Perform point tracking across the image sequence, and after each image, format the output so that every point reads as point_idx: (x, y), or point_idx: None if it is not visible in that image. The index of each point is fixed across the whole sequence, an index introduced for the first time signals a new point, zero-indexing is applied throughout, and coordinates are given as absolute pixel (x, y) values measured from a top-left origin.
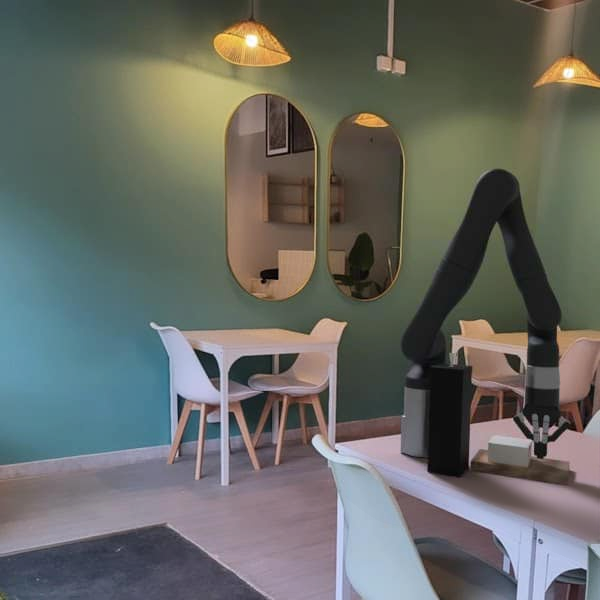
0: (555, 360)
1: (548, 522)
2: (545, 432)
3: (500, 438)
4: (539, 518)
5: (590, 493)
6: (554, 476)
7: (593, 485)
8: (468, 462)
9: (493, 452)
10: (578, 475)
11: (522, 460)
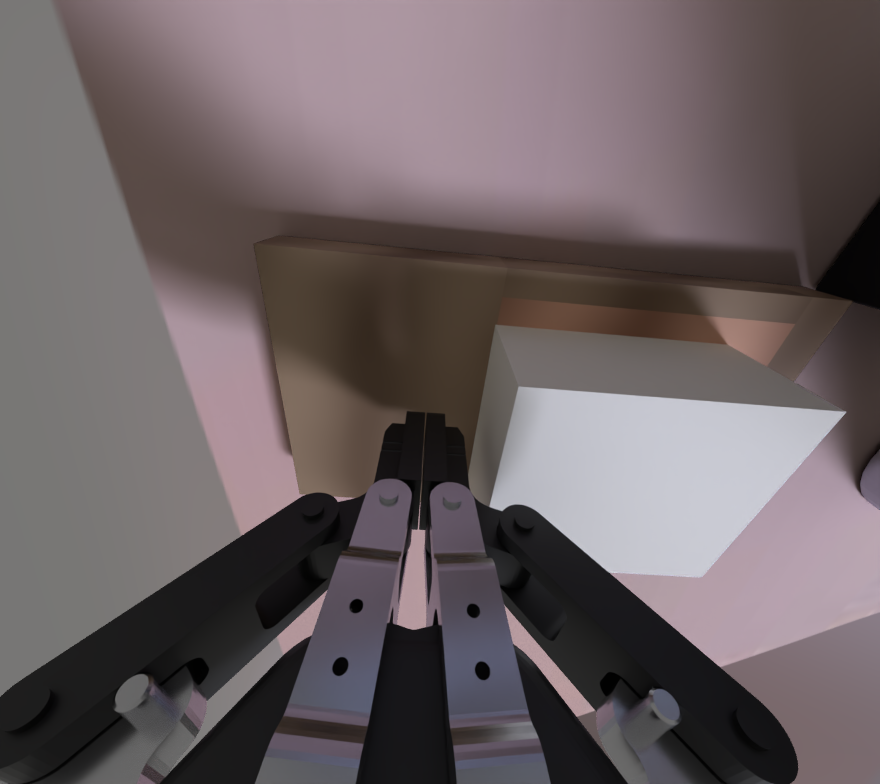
0: None
1: None
2: (364, 560)
3: (680, 535)
4: None
5: (113, 104)
6: (338, 247)
7: (160, 292)
8: (865, 287)
9: (740, 370)
10: (264, 415)
11: (536, 342)
